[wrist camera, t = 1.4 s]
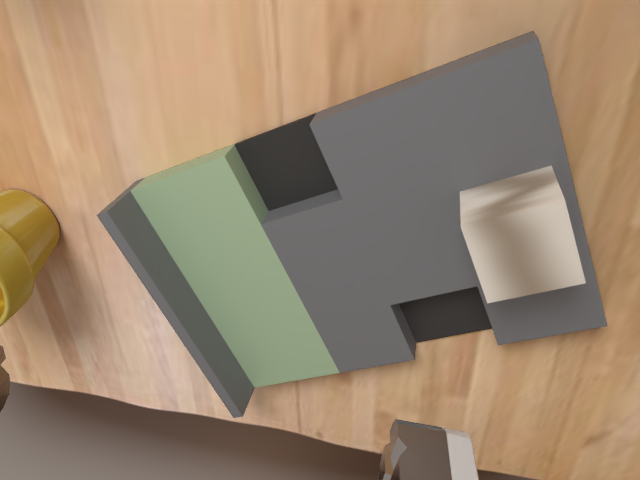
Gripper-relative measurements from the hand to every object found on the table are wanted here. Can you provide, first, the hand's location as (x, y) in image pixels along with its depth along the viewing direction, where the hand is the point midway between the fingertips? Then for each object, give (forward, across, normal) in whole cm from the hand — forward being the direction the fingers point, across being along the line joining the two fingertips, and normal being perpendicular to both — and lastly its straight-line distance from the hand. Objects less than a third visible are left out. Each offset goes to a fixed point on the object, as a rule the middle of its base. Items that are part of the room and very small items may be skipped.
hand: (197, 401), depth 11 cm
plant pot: (+34, +25, +20) cm, 46 cm away
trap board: (+30, -5, +13) cm, 33 cm away
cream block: (+26, -15, +7) cm, 31 cm away
